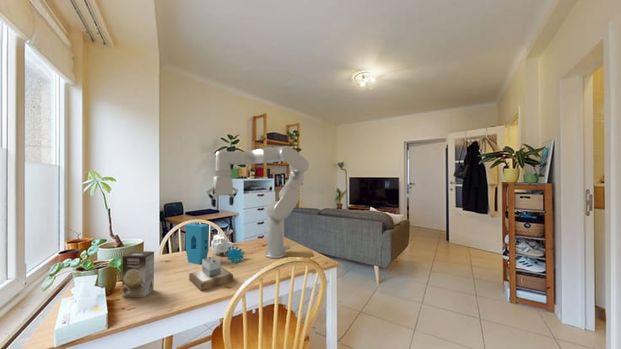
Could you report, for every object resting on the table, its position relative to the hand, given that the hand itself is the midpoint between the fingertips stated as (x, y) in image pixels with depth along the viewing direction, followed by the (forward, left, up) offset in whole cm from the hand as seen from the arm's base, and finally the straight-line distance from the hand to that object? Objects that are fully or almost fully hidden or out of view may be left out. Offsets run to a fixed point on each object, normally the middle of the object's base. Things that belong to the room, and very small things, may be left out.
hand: (222, 205), depth 137 cm
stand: (+14, +19, -30) cm, 38 cm away
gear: (-6, +3, -31) cm, 31 cm away
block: (+10, -9, -31) cm, 33 cm away
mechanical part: (-6, -13, -31) cm, 34 cm away
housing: (+14, +19, -27) cm, 36 cm away
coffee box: (+40, +11, -31) cm, 51 cm away
